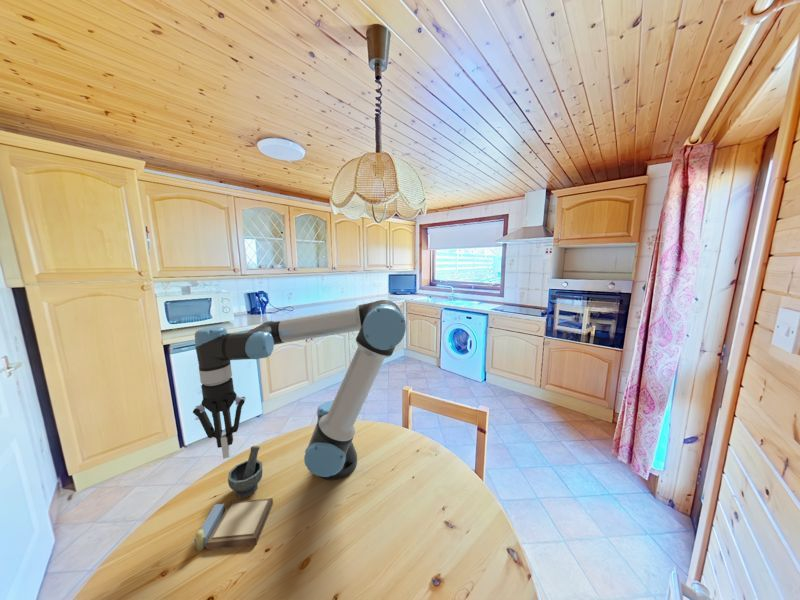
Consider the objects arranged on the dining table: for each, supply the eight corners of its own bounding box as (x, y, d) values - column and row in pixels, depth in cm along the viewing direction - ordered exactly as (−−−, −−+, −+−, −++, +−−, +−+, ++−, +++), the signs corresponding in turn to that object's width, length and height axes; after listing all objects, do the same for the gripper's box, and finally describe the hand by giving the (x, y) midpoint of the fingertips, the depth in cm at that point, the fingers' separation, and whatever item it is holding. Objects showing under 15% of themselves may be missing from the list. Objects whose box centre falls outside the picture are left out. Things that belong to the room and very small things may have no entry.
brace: (204, 550, 68) (203, 534, 68) (193, 551, 68) (192, 536, 67) (225, 511, 79) (223, 498, 78) (215, 513, 79) (214, 499, 78)
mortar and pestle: (249, 505, 81) (247, 468, 80) (222, 501, 83) (218, 465, 81) (272, 476, 93) (270, 444, 91) (247, 473, 94) (245, 441, 92)
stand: (273, 504, 82) (272, 497, 81) (256, 544, 70) (255, 536, 70) (231, 507, 81) (230, 500, 80) (207, 549, 69) (206, 541, 68)
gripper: (244, 371, 84) (252, 441, 87) (193, 379, 79) (204, 453, 82) (241, 380, 77) (250, 456, 80) (184, 390, 72) (197, 470, 75)
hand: (227, 454), depth 81 cm, fingers closed
